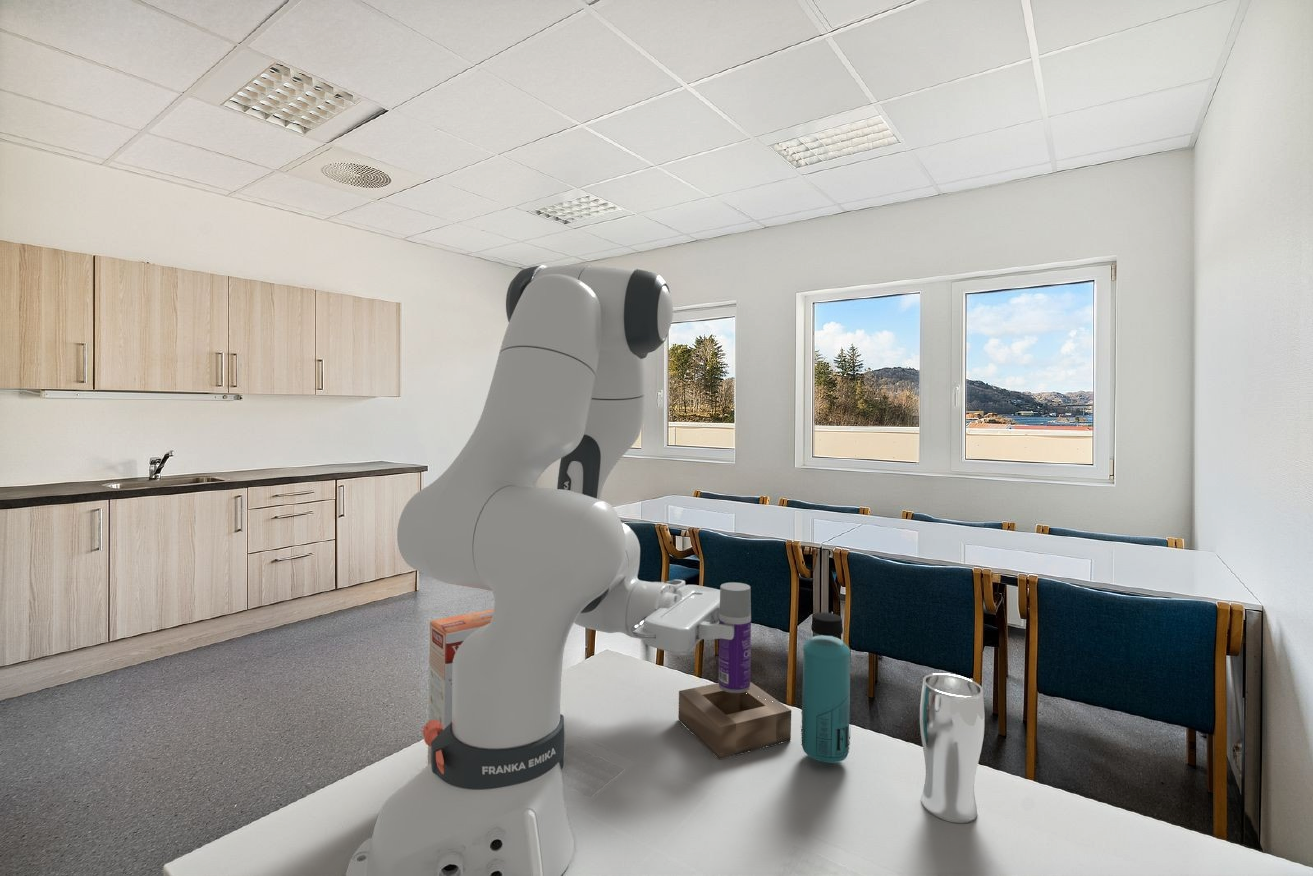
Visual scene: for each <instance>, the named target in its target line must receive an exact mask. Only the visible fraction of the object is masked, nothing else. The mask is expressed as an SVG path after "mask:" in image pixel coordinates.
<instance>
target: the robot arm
mask: <svg viewBox="0 0 1313 876" xmlns="http://www.w3.org/2000/svg"><path fill="white" fill-rule="evenodd" d="M505 296H506V297H505V298H506V299H505V312H506V318H507V321H508V325H507V327H506V331H505V332H504V333H505V334H504V336H503V339H502V342H501V346H500V348H499V353H498V356H497V360H496V364H495V369H494V372H493V375H492V380H491V382H490V383H491V384H490V386H489V390H488V393H487V396H486V399H485V403H484V406H483V409H482V412H481V414H480V418H479V420H478V422H477V424H476V426H475V428H474V430H473V432H472V434H471V435H470V437H469V438H468V441H467V442H466V443H465V445H464V446H463V448H462V450H461V451H460V452H459V454H458V455H457V457H456V458H455V459H454V460H453V461H452V463H451V464H450V465H449V467H448V468H447V469H446V470H445V471H444V472H443V473H442V474H441V475H440V476H438V478H437V479H436V480H434V481H433V482H432V483H430V484H429V485H428V486H425V487H423V488H422V489H421V490H419V491H417V492H416V493H415V494H414V495H413V496H412V497H411V498H410V499H408V502H406V504H405V506H404V508H403V509H402V512H401V514H400V517H399V519H398V524H397V531H396V533H397V534H396V537H397V539H396V540H397V546H398V551H399V553H400V556H401V557H402V559H403V561H404V562H405V563H406V564H407V566H409V567H410V568H412V569H413V570H416V571H418V572H420V573H422V574H424V575H426V576H427V577H430V578H433V579H435V580H437V581H440V582H442V583H445V584H448V585H455V586H462V587H467V588H473V589H479V590H486V591H492V593H493V597H494V607H493V609H494V611H493V616H492V619H491V622H490V623H489V624H487V625H485V626H483V627H481V628H479V629H477V630H476V631H474V632H473V633H471V634H470V635H469V636H468V637H467V638H466V639H465V640H464V641H463V642H462V643H461V645H460V646H459V648H458V649H457V651H456V653H455V655H454V658H453V663H452V722H451V723H450V724H449V725H448V726H447V727H446V728H445V729H444V730H443V726H442V723H440V721H438V720H432V721H429V720H428V722H426V723H425V725H424V726H423V729H422V735H423V739H424V743H425V744H426V745H427V746H428V745H429V746H431V763H430V764H429V765H428V764H427V765H426V767H424V768H423V769H421V771H420V772H418V773H417V774H416V775H415V776H414V777H413V778H411V779H410V780H408V782H407V783H405V784H404V785H403V786H402V787H400V788H399V789H398V790H397V791H395V792H394V793H393V794H392V795H391V796H389V798H388V799H387V800H386V801H385V802H384V804H383V805H382V807H381V809H380V811H379V813H378V815H377V818H376V821H375V825H374V828H373V832H372V835H371V837H369V838H367V839H365V840H364V841H363V842H362V843H361V844H360V845H359V846H358V848H357V849H356V850H355V852H354V853H353V855H352V857H351V858H350V861H349V862H348V863H349V864H348V865H347V868H346V872H345V876H562V875H563V874H564V872H565V871H566V870H567V868H568V867H569V865H570V863H571V861H572V860H573V859H572V858H573V856H574V852H575V838H574V834H573V831H572V829H571V825H570V822H569V817H568V813H567V807H566V801H565V794H564V783H563V774H562V772H563V771H562V770H563V769H564V767H565V766H564V765H565V756H566V727H565V726H566V725H565V717H564V715H563V714H561V694H562V676H563V675H562V672H563V661H564V653H565V647H566V644H567V639H568V636H569V634H570V632H571V629H572V627H573V625H574V624H575V625H578V626H579V627H582V628H585V629H589V630H593V631H597V632H602V633H607V634H615V633H622V634H624V635H626V636H628V637H630V638H634V639H639V640H643V644H645V645H647V646H649V647H651V648H655V649H658V650H661V651H665V652H668V653H669V652H670V653H673V654H678V655H679V654H688V653H689V652H690V651H692V649H693V648H694V647H696V645H697V644H699V643H700V642H701V641H702V640H707V641H708V640H717V639H718V640H719V639H721V638H722V639H728V640H731V639H733V637H734V636H735V635H736V626H735V625H733V624H727V623H724V624H723V625H722V624H719V610H720V589H717V588H715V587H714V588H713V587H709V586H708V587H707V586H702V585H697V584H686V581H685V580H683V579H672V580H671V579H670V580H667V581H647V580H641V579H639V577H638V575H639V572H640V565H641V555H642V554H641V549H642V547H641V542H640V540H639V537H638V536H637V534H636V532H635V531H634V529H632V527H631V526H629V524H626V523H625V522H623V521H621V519H620V515H619V514H618V512H617V511H616V510H615V508H614V507H613V506H612V505H611V503H609V502H606V501H604V500H601V497H602V492H603V489H604V485H605V483H606V480H607V478H608V477H609V475H610V474H611V472H612V470H613V469H614V468H615V466H616V465H617V463H618V462H619V461H620V460H621V458H623V457H624V455H625V454H626V453H627V452H628V451H629V450H630V449H631V448H632V447H633V445H634V444H635V443H636V441H637V440H638V438H639V437H640V433H641V430H642V426H643V422H644V418H645V409H646V408H645V407H646V372H645V371H646V370H645V359H646V358H647V356H648V354H649V353H653V352H654V351H656V350H658V349H659V348H660V347H661V346H662V344H664V343H665V342H666V339H667V337H668V334H669V331H670V328H671V326H672V323H673V316H674V306H673V301H672V296H671V292H670V288H669V285H668V283H667V281H666V280H664V279H663V277H662V276H661V275H660V274H658V273H654V272H651V271H648V270H643V269H638V268H637V269H635V270H629V269H623V268H617V267H614V268H613V267H606V266H593V265H591V264H569V265H567V264H566V265H555V266H549V267H548V265H544V264H541V265H534V266H529V267H526V268H524V269H521V270H520V271H519V272H517V274H516V275H515V276H514V277H513V279H512V280H511V281H510V283H509V285H508V288H507V290H506V295H505ZM558 460H560V463H559V468H558V476H557V485H556V488H548V487H546V488H545V487H535V485H536V483H537V481H538V480H539V478H540V477H541V476H542V474H543V473H544V472H545V471H546V470H547V469H548V468H549V467H550V466H551V465H552V464H554V463H555V462H556V461H558Z"/></svg>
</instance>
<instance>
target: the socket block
mask: <svg viewBox="0 0 1313 876" xmlns="http://www.w3.org/2000/svg"><path fill="white" fill-rule="evenodd" d="M746 693H747V694H746ZM758 696H759V697H758ZM765 699H766V700H765ZM772 701H773V702H772ZM678 719H679V720H680V721H679V720H678ZM678 719H677V720H678V721H679V722H680V723H681V724H682V723H683V724H684V725H685V726H686V727H685V726H684V725H683V724H682V725H683V726H684V727H685V728H686V729H687V728H688V729H689V730H688V729H687V730H688V731H689V732H690V733H691V732H692V733H693V734H692V733H691V734H692V735H693V737H695V738H696V739H698V740H699V742H701V743H702V744H703V746H705V747H706V749H708V750H709V751H710V753H711V754H713V755H714V756H715V757H716V758H717V760H720V761H721V760H724V759H728V758H731V757H732V758H733V757H735V756H738V755H739V756H740V755H742V753H743V754H746V752H747V753H749V752H748V751H751V752H754V751H757V749H758V750H761V749H760V748H762V749H764V748H763V747H766V746H770V747H773V746H776V745H775V744H777V745H780V744H779V743H781V742H785V743H788V742H791V741H790V740H792V737H791V736H792V710H791V708H789V707H787V706H786V705H784V704H783V703H782V702H780V701H779V700H777V699H776V698H775V697H773V696H772V695H770V694H769V693H767V692H766V691H764V690H763V689H761V688H760V687H759V686H757V685H755V683H753V682H751V681H750V689H749V690H748V691H746V692H743V693H729V692H726V691H723V690H722V689H720V688H719V682H717V683H716V682H715V683H713V684H712V683H711V684H708V685H707V684H706V685H703V686H702V685H701V686H698V687H693V688H686V689H683V690H678ZM781 744H782V743H781ZM772 745H773V746H772ZM766 748H767V747H766Z"/></svg>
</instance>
